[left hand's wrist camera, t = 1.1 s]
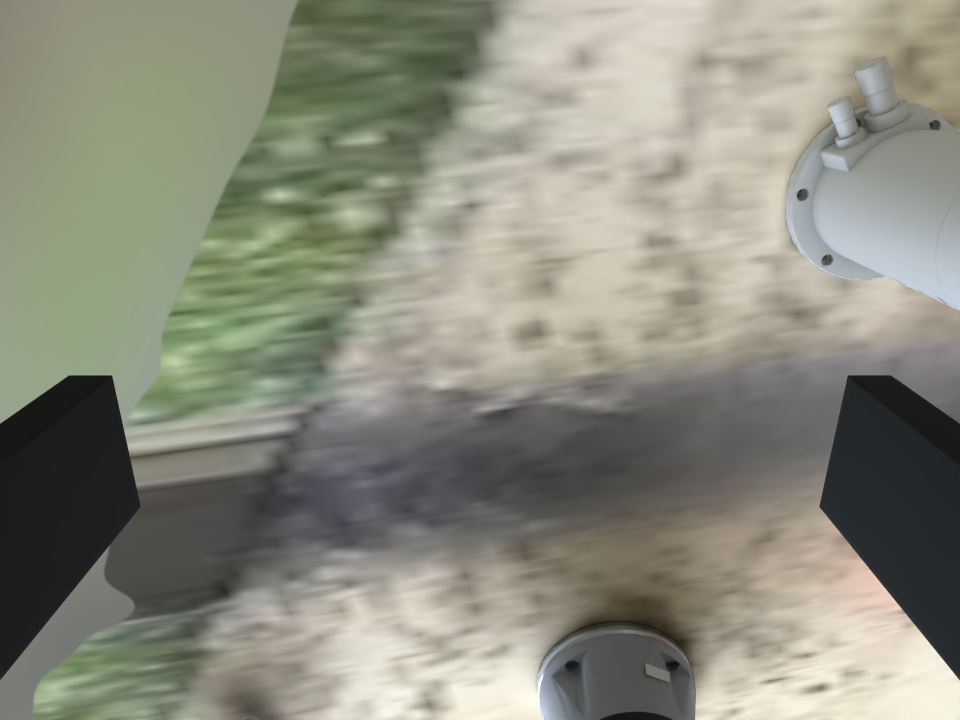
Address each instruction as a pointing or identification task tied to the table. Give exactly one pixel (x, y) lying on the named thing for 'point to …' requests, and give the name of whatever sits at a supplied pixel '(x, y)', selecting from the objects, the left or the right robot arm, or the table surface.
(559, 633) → the table surface
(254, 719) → the toy character
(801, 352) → the table surface
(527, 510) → the table surface
